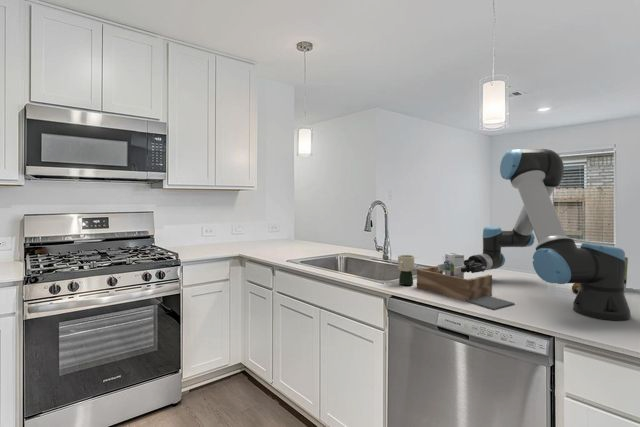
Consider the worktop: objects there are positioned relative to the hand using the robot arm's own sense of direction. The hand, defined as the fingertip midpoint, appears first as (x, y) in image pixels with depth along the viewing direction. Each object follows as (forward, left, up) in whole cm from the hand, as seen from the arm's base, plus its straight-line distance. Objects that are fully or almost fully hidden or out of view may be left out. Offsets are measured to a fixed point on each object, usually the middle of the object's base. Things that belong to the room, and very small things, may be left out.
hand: (446, 269), depth 146 cm
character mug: (+18, +5, -10) cm, 22 cm away
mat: (-17, -3, -10) cm, 20 cm away
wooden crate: (0, -5, -10) cm, 11 cm away
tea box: (-28, -62, -10) cm, 69 cm away
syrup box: (0, -5, -9) cm, 10 cm away
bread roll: (-29, -47, -10) cm, 57 cm away
